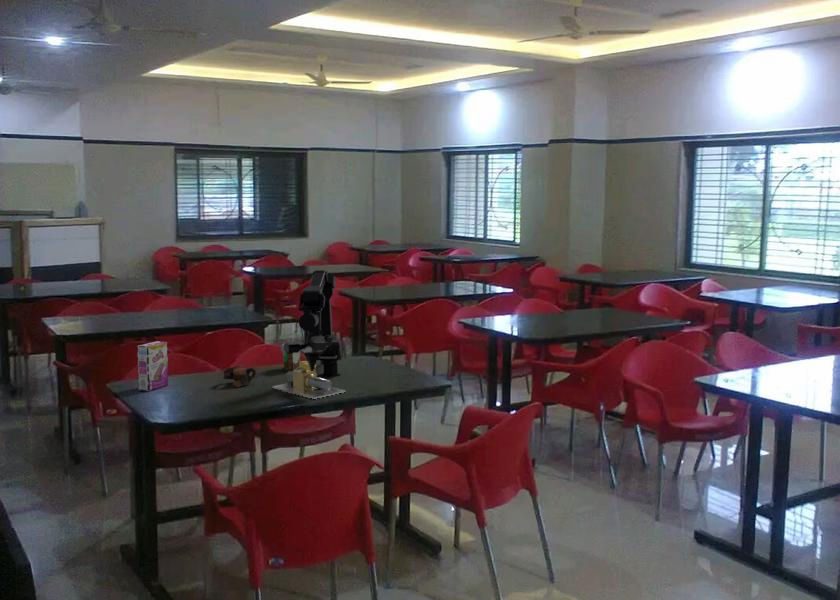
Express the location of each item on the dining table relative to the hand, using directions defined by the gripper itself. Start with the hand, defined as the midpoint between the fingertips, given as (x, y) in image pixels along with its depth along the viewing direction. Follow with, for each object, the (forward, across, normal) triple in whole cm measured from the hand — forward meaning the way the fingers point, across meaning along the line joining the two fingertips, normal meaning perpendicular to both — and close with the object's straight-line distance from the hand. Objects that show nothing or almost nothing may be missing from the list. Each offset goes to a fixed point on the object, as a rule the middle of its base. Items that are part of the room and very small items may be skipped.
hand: (312, 371), depth 294 cm
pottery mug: (+10, -17, +30) cm, 35 cm away
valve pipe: (+9, +2, +8) cm, 12 cm away
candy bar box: (+11, -46, +39) cm, 61 cm away
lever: (+1, +2, +5) cm, 5 cm away
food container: (+9, +8, +47) cm, 49 cm away
